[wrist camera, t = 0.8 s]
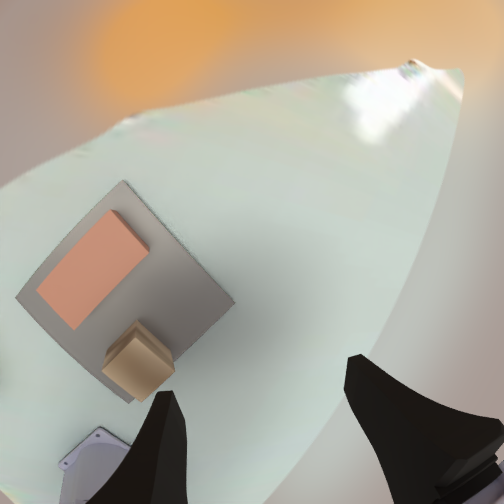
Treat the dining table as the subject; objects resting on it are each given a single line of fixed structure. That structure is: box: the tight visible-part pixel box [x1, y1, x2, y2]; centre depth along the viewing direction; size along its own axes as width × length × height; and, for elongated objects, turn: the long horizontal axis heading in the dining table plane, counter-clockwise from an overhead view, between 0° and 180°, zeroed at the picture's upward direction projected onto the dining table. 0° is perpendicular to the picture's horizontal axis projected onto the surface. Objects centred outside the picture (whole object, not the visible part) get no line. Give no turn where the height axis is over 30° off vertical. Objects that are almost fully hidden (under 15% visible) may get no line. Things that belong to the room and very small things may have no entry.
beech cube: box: [102, 320, 175, 402], centre depth 22 cm, size 4×4×4 cm
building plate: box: [15, 180, 235, 404], centre depth 24 cm, size 14×14×1 cm
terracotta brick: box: [36, 209, 149, 330], centre depth 21 cm, size 8×4×4 cm, turn 132°
